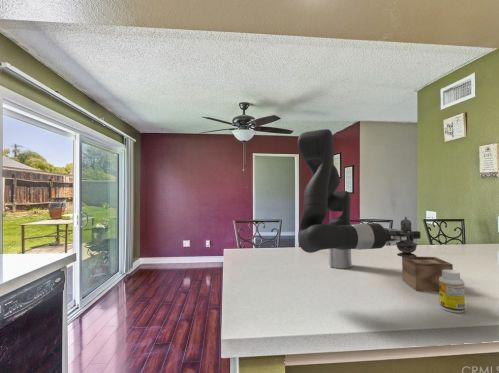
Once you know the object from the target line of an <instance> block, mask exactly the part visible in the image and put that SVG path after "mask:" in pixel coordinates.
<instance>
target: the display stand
mask: <svg viewBox="0 0 499 373" xmlns="http://www.w3.org/2000/svg"><path fill="white" fill-rule="evenodd" d="M401 261H402V262H401V266H402V272H401V273H402V281H403V282H404V283H405V284H407V285H408V286H409V287H411V289H413V290H415V292H436V293H440V292H439V278H440V277H441V276H442V270H445V269H448V270H454V267H453V266H454V265H453V264H454V263H451V262H448V261H445V260H443V259H441V258H438V257H436V256H417V257H413V258H409V257H401Z"/></svg>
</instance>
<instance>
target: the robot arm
mask: <svg viewBox="0 0 499 373" xmlns="http://www.w3.org/2000/svg"><path fill="white" fill-rule="evenodd" d="M334 139H335V138H334V136H333V132H332V131H331V130H330V129H327V128H325V129H318V130H310V131H305V132H302V133H301V134H299V136H298V139H297V148H298V152H299V154H300V157H301V158H302V160H303V161H304V163H305V165H306V166H307V168H309V170H310V172H311V175H312V177H311V178H310V179H309V182H308V183H307V185H306V186H305V189H304V192H303V203H302V204H303V206H302V215H301V216H302V217H301V220H300V224H299V228H298V234H297V235H298V236H297V239H298V240H297V241H298V245H299V247H300V249H301V250H302V251H303V252H306V253H308V254H313V253H316V252H319V251H323V250H328V265H329V267H330V268H336V269H350V268H352V262H353V261H352V250H360V251H361V250H373V249H374V250H376V249H378V250H379V249H382V248H384V246H385V245H386V244H387V243H388V244H389V243H390V244H392V243H397V242H400V243H407V242H411V241H413V242H414V240H418V239H421V237H422V236H421V235H422V234H421V231H419V230H411V231H403V230H401V229H397V228H393V227H392V228H390V227H389V228H388V227H383V225H382V224H380V223H378V222H372V223H371V222H370V223H369V222H368V223H355V224H351V194H350V191H348V190H337V189H338V188H339V186H340V182H341V177H340V174H339V171H338V169H337V167H336V165H334V163H333V161H334V160H333V158H334V154H335V153H334V152H335V140H334ZM328 212H332V213H333V212H335V213H336V212H341V215H339V216H338V217H335V218H332V219H330V220H329V221H328V224H326V223H325V224H324V223H323V222H324V220H325V219H326V217H327V215H328Z"/></svg>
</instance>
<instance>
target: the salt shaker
mask: <svg viewBox="0 0 499 373" xmlns="http://www.w3.org/2000/svg"><path fill="white" fill-rule="evenodd" d="M400 230H403V231H412V221H411V220H409V219H408V217H407V216H404V219H402V220H401V221H400ZM395 245H396V247H397V248H396V249H397V250H399V251H400V252H398V253H397V254H396V255H397V256H399V257H401V258H402V257H409V258H413V257H418V256H417V254H415V253H414V252H416V249H417V247H418V244H417V243H415V242H414V241H411V242H407V243H400V242H395Z"/></svg>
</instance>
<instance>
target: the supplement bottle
mask: <svg viewBox="0 0 499 373" xmlns="http://www.w3.org/2000/svg"><path fill="white" fill-rule="evenodd" d="M438 293H439V305H440V307H441V309H443V310H444V311H446V312H450V313H456V314H462V313H465V312H466V297H465V296H466V294H465V293H466V292H465V281H464V279H462V278H461V272H460V271H458V270H456V269H453V270H448V269H445V270H442V276H441V277H440V278H439V292H438Z"/></svg>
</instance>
